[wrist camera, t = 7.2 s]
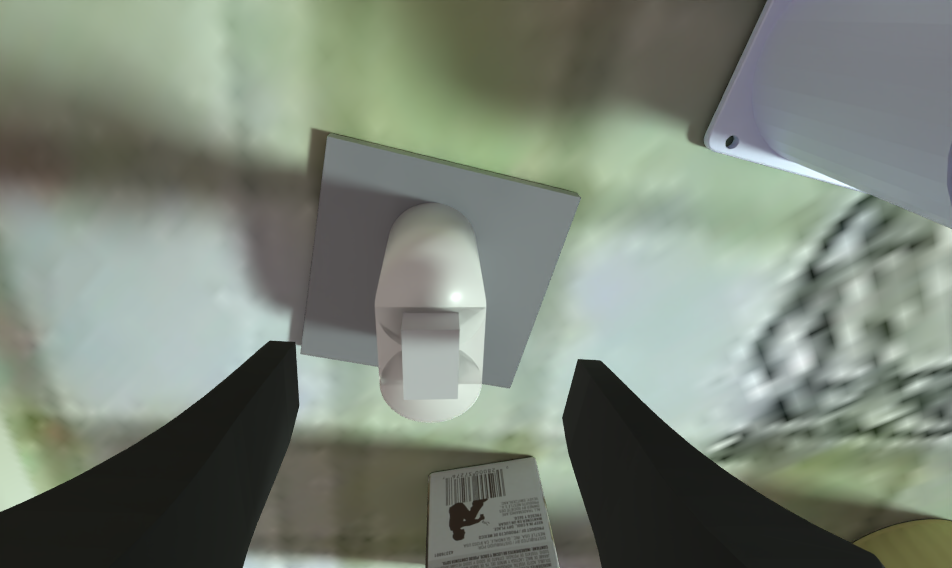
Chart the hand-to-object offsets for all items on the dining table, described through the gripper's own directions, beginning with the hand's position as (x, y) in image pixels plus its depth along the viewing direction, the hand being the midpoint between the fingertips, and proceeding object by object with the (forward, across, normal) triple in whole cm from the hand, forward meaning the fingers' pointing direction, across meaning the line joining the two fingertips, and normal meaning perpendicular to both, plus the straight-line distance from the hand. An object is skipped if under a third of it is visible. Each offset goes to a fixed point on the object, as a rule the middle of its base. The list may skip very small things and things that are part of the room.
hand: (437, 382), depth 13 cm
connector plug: (+9, 0, +2) cm, 9 cm away
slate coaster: (+9, 0, +2) cm, 10 cm away
